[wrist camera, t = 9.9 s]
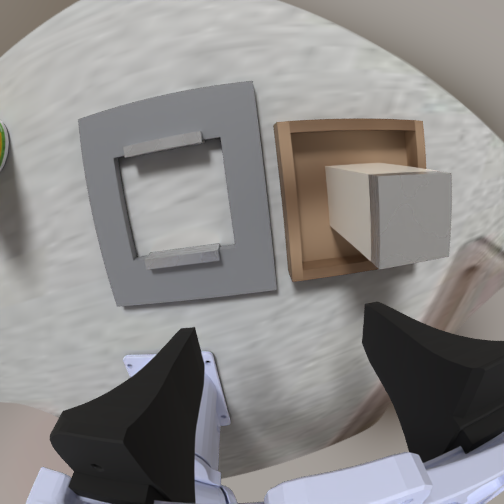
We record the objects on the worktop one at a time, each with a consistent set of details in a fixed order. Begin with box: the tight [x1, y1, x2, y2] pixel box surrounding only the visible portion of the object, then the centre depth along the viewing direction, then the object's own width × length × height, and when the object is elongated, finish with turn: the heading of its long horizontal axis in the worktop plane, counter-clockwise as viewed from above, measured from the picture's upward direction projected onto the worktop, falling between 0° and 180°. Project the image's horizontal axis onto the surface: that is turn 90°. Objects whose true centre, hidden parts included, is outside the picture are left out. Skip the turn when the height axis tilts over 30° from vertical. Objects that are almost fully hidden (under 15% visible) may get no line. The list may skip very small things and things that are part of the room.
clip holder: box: [78, 81, 277, 306], centre depth 19 cm, size 14×12×2 cm
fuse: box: [325, 163, 452, 269], centre depth 15 cm, size 4×4×8 cm
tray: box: [273, 119, 426, 282], centre depth 19 cm, size 10×10×2 cm
